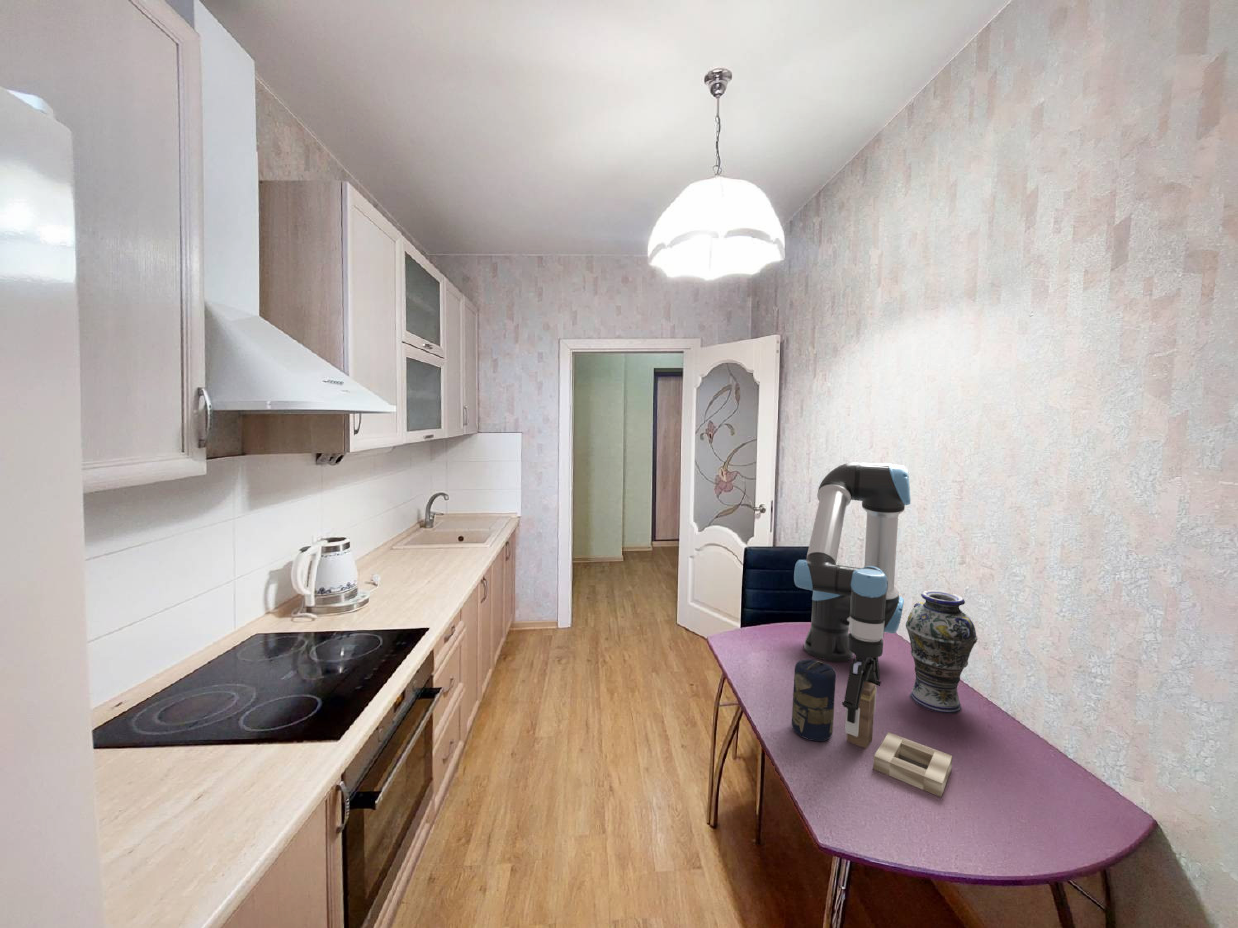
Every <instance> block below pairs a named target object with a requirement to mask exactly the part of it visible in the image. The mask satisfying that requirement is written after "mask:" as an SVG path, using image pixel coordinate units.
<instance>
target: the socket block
mask: <svg viewBox="0 0 1238 928" xmlns="http://www.w3.org/2000/svg"><path fill="white" fill-rule="evenodd" d="M952 765H953V755H951V754H948V753H945V752H943V751H940V750H937V749H934V748H932V747H929V746H927V745H923V744H922V743H919V742H916V741H913V740H910V739H908V738H905V737H902V736H901V735H897V734H894V733H891V732H887V734H886V736H885V737H884V739H883V740H882V742H881V744H880V746H879V747H878V749H877V750H876V752H875V754H874V755H873V765H872V766H873V767H872V769H873V770H874V771H876V772H877V771H878V772H880V773H882V774H884V775H887V776H888V777H889V776H890V777H892V778H893V779H896V780H899V781H901V782H904V783H906V784H908V785H910V786H913V787H915V788H918V789H920V790H922V791H925V792H928V793H930V794H931V795H932V794H933V795H935V796H937V797H940V798H942V796H943V794H944V791H945V787H946V785H947V782H948V780H949V776H950V774H951V771H952V769H953V768H952Z"/></svg>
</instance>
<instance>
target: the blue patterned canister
mask: <svg viewBox="0 0 1238 928" xmlns="http://www.w3.org/2000/svg"><path fill="white" fill-rule="evenodd" d="M793 673H794V674H793V675H794V676H793V691H792V711H791V727H792V729H793V731H794V732H795V734H798V736H800V737H802V738H804V739H805V740H810V741H814V742H823V741H827V740H829V739H830V738H832V737H831V736H832V735H833V729H834V716H835V715H834V711H835V698H836V697H835V696H836V695H835V693H836V682H837V681H836V680H837V674H836V673H837V672H836V670H835V668H833V666H831V665H829V664H828V663H826V662H824V661H821V660H817V659H808V658H807V659H800V660H799V661H797V662H796V664H795V665H794V672H793Z"/></svg>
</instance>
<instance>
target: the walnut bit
mask: <svg viewBox="0 0 1238 928" xmlns="http://www.w3.org/2000/svg"><path fill="white" fill-rule="evenodd" d="M875 686H877V685H876V684H873V683H870V682H865V683H864V687H863V691H862V695H861V699H860V703H859V708H860V714H859V731H858V737H856V736H853V735H851V734H848V733H846V742H849V743H851V744H853V745H856V746H858V747H861V748H863V747H864V748H863V749H868V748H869V746H870V744H871V743H872V742H873V732H874V717H875V715H874V714H875V712H874V702H875V691H876V692H877V690H876V689H875Z"/></svg>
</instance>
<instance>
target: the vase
mask: <svg viewBox="0 0 1238 928" xmlns="http://www.w3.org/2000/svg"><path fill="white" fill-rule="evenodd" d="M920 596H921V598H922V599H924V600H925V601H920V602H916V603H915V604H914V606H913V608H912V609H911V610H910V612H909V614H908V618H907V620H906V622H905V628H906V630H907V634H908V639H909V641H910V648H911V650H910V655H911V656H912V657H913V660H914V661H913V662H914V673H915V681H914V684H913V687H912V688H911V689H912V690H911V691H910V694H909V696H910V700H912V701H913V702H914V703H915V704H916V705H918V706H920V707H922V708H923V709H926V710H929V711H931V712H935V713H939V714H940V713H941V714H959V713H960V712H961V711H962V705H961V700H960V697H959V693H958V686H959V683H960V681H961V676H962V672H963V670H964V669H965V668H966V667H967V666H968V665H969V662H968V661H969V658H970V656H971V653H972V651H973V648H974V646H975V645H976V644H977V641H978V636H977V631H976V627H975V624H974V623H973V621H972V619H971V618H970V617H969V616H968V615H967V614H966V613H965V612H963V610H961V609H960V606H963V605H965V604H966V601H965V599H964V598H963V597H962V596H960V595H958V594H956V593H953V592H952V593H951V592H948V591H943V590H937V589H936V590H925V591H923V592H921V594H920Z"/></svg>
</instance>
